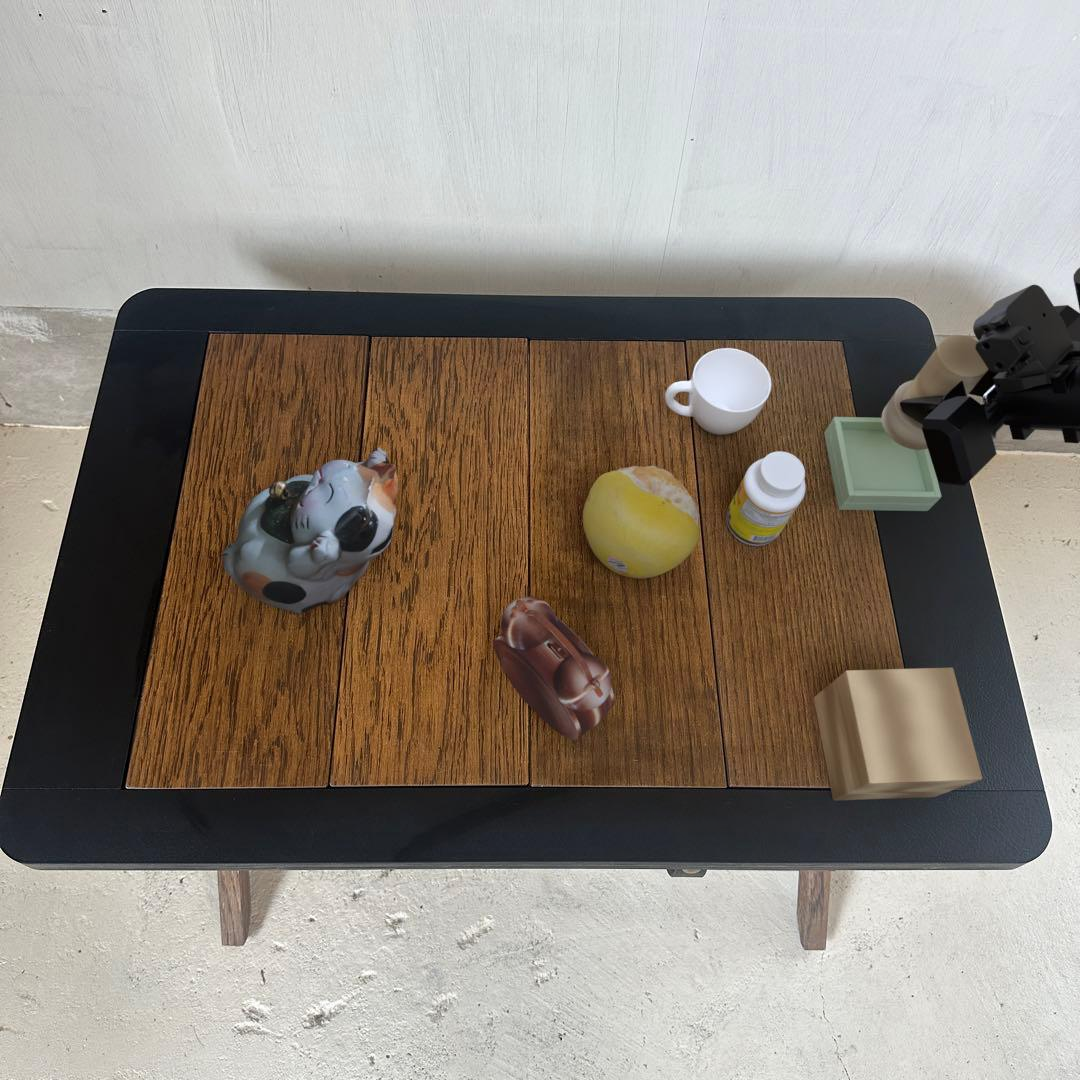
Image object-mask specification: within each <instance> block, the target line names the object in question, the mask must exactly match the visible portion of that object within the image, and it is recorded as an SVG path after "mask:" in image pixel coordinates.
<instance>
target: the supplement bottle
mask: <svg viewBox="0 0 1080 1080" xmlns="http://www.w3.org/2000/svg"><path fill="white" fill-rule="evenodd" d="M805 478H806V470H805V467H804V464H803V463H802V461H801V460H800V459H799V458H798V457H797V456H795V455H794V454H792V453H791V452H787V451H782V450H781V451H780V450H779V451H778V450H777V451H773V452H770V453H768V454H767V455H766V456H765V457H763V458H760V459H757V460H756V461H754V462H753V463H752V464H751V465H750V466H749V467H748V469H747V470H746V472H745V474H744V476H743V478H742V480H741V482H740V484H739V486H738V488H737V490H736V492H735V494H734V496H733V498H732V500H731V502H730V504H729V506H728V508H727V511H726V525H727V528H728V530H729V531H730V533H731V535H732V536H733V537H735V538H736V539H737V540H738V541H740V543H743V544H746V545H749V546H753V547H759V546H765V545H768V544H771V543H772V542H774V541H775V540H776V539H777V538H778V537H779V535H780V534H781V532H782V531H783V530H784V528H785V526H786V525H787V524H788V523H789V520H790V519H791V518H792V516H793V515H794V513H795V512H796V510H797V509H798V507H799V505H800V504H801V502H802V501H803V499H804V497H805V495H806V481H805Z"/></svg>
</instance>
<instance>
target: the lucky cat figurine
mask: <svg viewBox="0 0 1080 1080" xmlns="http://www.w3.org/2000/svg"><path fill="white" fill-rule="evenodd" d="M398 478H399V477H398V474H397V465H396V464H394V463H393V464H392V463H391V462H390V459H388V455H387V451H386V450H383V448H381V447H378V448H377V450H374V451H372V452H370V453H369V456H368V458H367V459H366V460H365V461H359V462H353V461H350V460H346V459H333V460H331V461H328V462H325V463H324V464H323V465H321V467H320V468H319V469H317V470H316V471H314V472H313V473H312V474H298V475H295V476H292V477H290V478H289V479H287V480H285V481H284V480H280V479H279V480H277V481H275V482H272V484H270V486H269V487H268V488H266V489H264V490H262V491H261V492H259V493H258V494H257V495H255V496H254V497H253V498H252V499H251V500H250V502H249V503H248V504H247V506H246V508H245V511H243V514H242V516H241V518H240V520H239V522H238V526H237V535H236V537H235V539H234V541H232V542H231V543H230V544H228V545H227V546H226V547H225V548H224V550H223V551H222V553H221V560H222V565H223V568H224V570H225V573H226V574H227V575H228V577H230V579H231V580H232V581H233V583H235V584H236V585H237V586H238V588H240V589H241V590H242V591H244V592H245V593H246V594H248V595H249V596H250V597H252V598H254V599H255V600H257V601H259V602H261V603H262V604H265V605H266V606H267V605H268V606H270V607H273V608H276V609H281V610H284V611H289V612H291V613H294V614H299V615H303V614H304V613H306V612H308V611H310V610H312V609H314V608H315V607H320V606H325V605H333V604H335V603H336V602H340V601H341V600H342V599H344V597H345V596H346V595H347V594H348V592H349V591H350V590H351V589H352V587H353V586H354V585H355V584H356V583H357V582H358V581H359V580H360V579H361V578H362V577H363V576H364V574H365V572H366V571H367V569H368V567H369V565H370V562H371V561H373V560H374V559H376V558H377V557H378V556H380V555H381V554H382V552H384V551H385V550H386V549H388V547H389V546H390V544H391V541H392V539H393V537H394V524H395V523H394V521H395V519H396V516H397V515H396V514H397V507H396V500H397V498H398V493H399V479H398Z"/></svg>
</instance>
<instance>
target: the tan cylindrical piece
mask: <svg viewBox="0 0 1080 1080" xmlns="http://www.w3.org/2000/svg"><path fill="white" fill-rule="evenodd" d="M978 341H979V340H978V339H975V338H973V337H971V336H967V335H963V334H954V335H949V336H947V337H945V338H943V339H941V341H940V342H939V343H938V345H937V346H936V348H935V349H934V350H933V352H932V353H931V355H930V356H929V358H928V359H927V360H926V362H925V364H924V365H923V366H922V367H921V369H919V372H918V373H917V375H916V376H915V377H914V378H913V379H912V380H907V381H905V382H904V383H902V384H901V385H899V387H898V388H897V389H896V390H895V391H894V393H893V395H892V396H891V398H890V399H889V401H888V402H887V404H886V405H885V406H884V408H883V409H882V412H881V418H882V425H883V428H884V430H885V431H886V433H887V434H888V436H889V437H890V438H891V439H892V440H894V441H895V442H896V443H898V444H899V445H901V446H904V447H906V448H909V449H914V450H924V449H928V447H927V444H926V441H925V437H924V434H923V431H922V426H923V425H922V424H920V423H919V422H917V421H916V420H914V419H913V418H911V417H909V416H908V415H906V414H905V413H903V412H902V410H901V406H900V402H901V401H902V400H905V399H911V398H919V397H930V396H941V395H946V394H947V393H948V392H949V391H950V390H951V389H952V388H953V387H954V386H956V385H957V384H958V383H959V382H960V381H963V384H964V388H965V391H966V395H967V396H968V395H970V394H969V393H970V392H971V390H972V389H973V388H974V387H975V386H976V384H977V383H978V382H979V381H980V380H981V378H982V377H983V376H984V375H985V373H986V372H987V371H988V370H989V369H988V368H987V366H986V365H985V363H984V361H983V360H982V358H981V357H980V355H979V354H978V352H977V351H976V349H975V346H976V343H977V342H978Z"/></svg>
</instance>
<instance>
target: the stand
mask: <svg viewBox="0 0 1080 1080" xmlns="http://www.w3.org/2000/svg"><path fill="white" fill-rule="evenodd" d="M813 701H814V707H815V712H816V713H815V714H816V719H817V723H818V729H819V733H820V740H821V744H822V745H821V746H822V749H823V755H824V761H825V765H826V771H827V775H828V776H827V777H828V782H829V786H830V791H831V797H832V801H834V802H835V801H836V802H837V801H857V800H858V801H859V800H860V801H861V800H863V801H864V800H886V799H887V800H889V799H915V798H936V797H938V796H941V795H943V794H946V793H949V792H952V791H955V790H957V789H960V788H962V787H965V786H968V785H971V784H973V783H976V782H978V781H982V780H983V775H982V771H981V768H980V764H979V760H978V757H977V752H976V749H975V745H974V741H973V738H972V734H971V730H970V727H969V722H968V718H967V715H966V712H965V709H964V703H963V701H962V696H961V692H960V689H959V685H958V681H957V678H956V674H955V670H954V667H922V668H921V667H918V668H887V669H885V668H883V669H881V668H880V669H852V670H851V669H849V670H845V671H844V672H842V674H840V675H839V676H837V678H835V679H834V680H833V681H832V682H830V683H829V684H828V685H827V686H826V687H825V688H823V689H821V690H820V691H819V692H818V693H817V694H816V695H815V696H814V697H813Z"/></svg>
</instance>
